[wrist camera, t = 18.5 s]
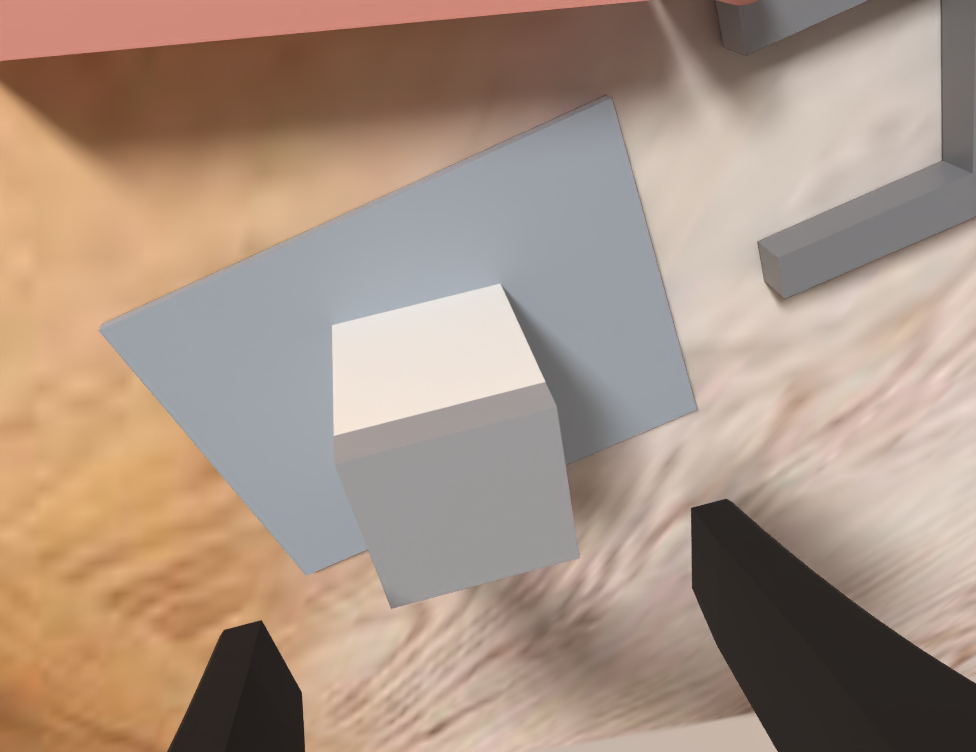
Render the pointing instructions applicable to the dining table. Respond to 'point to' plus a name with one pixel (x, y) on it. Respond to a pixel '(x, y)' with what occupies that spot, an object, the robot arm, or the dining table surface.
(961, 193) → the bracket
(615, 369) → the slate mat
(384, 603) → the dining table surface
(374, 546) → the plug
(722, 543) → the robot arm
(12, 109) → the dining table surface
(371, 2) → the pink flat bar
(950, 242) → the dining table surface
